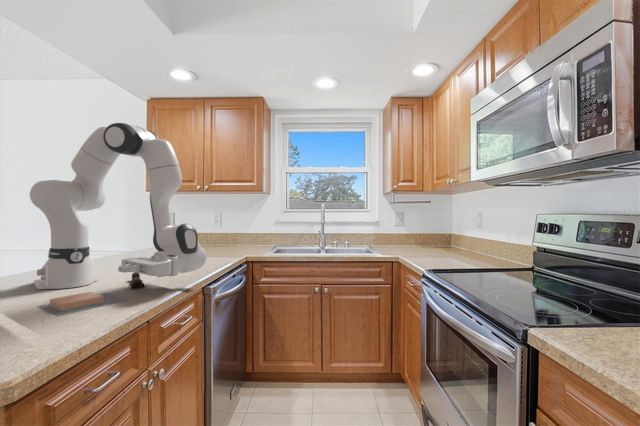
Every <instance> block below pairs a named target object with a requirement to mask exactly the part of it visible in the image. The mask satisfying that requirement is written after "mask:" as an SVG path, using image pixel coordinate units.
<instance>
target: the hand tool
mask: <svg viewBox="0 0 640 426" xmlns="http://www.w3.org/2000/svg"><path fill="white" fill-rule="evenodd" d="M140 275H141V274H140V273H136V272H132V274H131V287H130V290H138V289H144V288H145V283H144V281H143V280H141V278H140Z"/></svg>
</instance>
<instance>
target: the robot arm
mask: <svg viewBox="0 0 640 426" xmlns="http://www.w3.org/2000/svg"><path fill="white" fill-rule="evenodd" d="M120 155H124V156H129V157H140V158H141V159H142V160H143V162H144V165H145V168H146V169H145V170H146V172H147V177H148V181H149V204H150V210H151V215H152V216H151V217H152V223H153V235H152V236H153V237H152V243H153V246H154V248H155V249H156V251H155V253H154V254H153V255H152V256H151V257H130V258H124V259H121V265H119V266H118V269H117V271H118V272H120V273H134V272H136V273H139V274H140V275H141V274H142V275H146V276H151V277H156V278H157V277H158V278H163V277H176V276H178V274H185V273H190V272H194V271H198V270H199V269H201V268H202V267H204V265H205V264H206V261H207V253H206V251H205V249H204V248H203V247H202V246H201V244H200V241H199V236H198V235H199V234H198V231H197V229H196V228H195V227H194V226H193V225H191V224H189V223H181V224H177V225H174V226H173V224H172V219H171V213H170V201H171V199H172V198H173V196H174V195H175V193H177V191H179V189H180V187H181V186H182V182H183V176H182V171H181V170H182V169H181V167H180V163H179V160H178V158H177V154H176V152H175V149H174V148H173V146H172V144H171V142H169V141H168V140H166V139H164V138H159V136H158V135H157V134H155V132H153V131H151V130H149V129H145V128H143V127H140V126H138V125H132V124H128V123H124V122H115V123H111V124H109V125H107V126H100V127H98V128H96V130H94V131H93V132H92V133H91V134H90V135H89V136H88V137H87V139H86V140H85V141H84V143H83V144H82V145H81V147H80V149H79V150H78V151H77V153H76V155H74V157H73V159H72V161H71V163H70V166H71V169H72V170H73V172H74V173H75V177H74V179H73V180H71V181H68V180H66V181H65V180H61V179H60V180H57V179H50V180H49V179H48V180H47V179H46V180H39V181H37V182H35V183H33V185H32V186H31V188H30V191H29V198H30V201H31V203H32V204H33V205H34V207H36V208H38V209H39V210H40V211H41V212H42V213H43V214H44V216H45V217H46V220H47V222H48V225H49V227H50V228H49V229H50V248H49V250H48V253H47V254H48V255H47V257H48V259H47V260H46V261H45V263H44V264H43V266H42V267H41V268H38V269H37V270H36V275H37V276H38V277H39V276H40V279H34V280H33V281H32V283H33V285H34V286H35V288H36V289H37V290H53V289H54V290H57V289H58V290H61V289H70V288H72V289H73V288H77V287H78V288H79V287H83V286H88V285H91V284H93V283H95V282H98V281H99V278H98V277H96V276H95V267H94V261H93V259H91V258H90V257H89V256H90V255H91V254H90V252H91V251H90V246H89V227H88V225H87V223H85V222H83V221H82V220H81V219H80V217H79V216H78V211H84V212H86V211H87V212H88V211H92V210H97V209H100V208H101V207H103V205H104V204H105V202H106V193H105V191H104V189H103V183H104V180H105V178H106V176H107V175H108V173H109V171H110V170H111V168H112V167H113V166H114V164H115V163H116V160H117V159H118V157H119V156H120Z"/></svg>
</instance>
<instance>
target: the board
mask: <svg viewBox="0 0 640 426" xmlns="http://www.w3.org/2000/svg"><path fill="white" fill-rule="evenodd" d="M99 295H102V296H103V303H102V304H97V305H92V306H87V307H83V308H78V309H73V310H68V311H64V312H60V311H58V310H56V309H54V308H51V307H50V303H47V304H42V305H38V306H37V308H40V309H42V310H44V311H45V312H48V313H50V314H52V315H54V316H56V317H60V316H65V315H69V314H74V313H78V312H82V311H86V310H87V311H88V310H93V309H97V308H101V307H106V306H110V305H114V304H119V303H123V302H129V301H130V299H128V298H126V297H122V296H119V295H116V294H112V293H109V292H107V293H101V294H100V293H99Z"/></svg>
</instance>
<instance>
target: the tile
mask: <svg viewBox="0 0 640 426" xmlns="http://www.w3.org/2000/svg"><path fill="white" fill-rule="evenodd" d="M102 303H103V296H102V295H100V293H96V292H92V291H89V292H88V291H87V292H84V293H83V292H81V293H77V294H71V295H65V296H60V297H55V298H49V304H50V307H51V308H54V309H56V310H58V311H60V312H64V311H68V310H73V309H78V308H83V307H87V306H92V305H97V304H102Z"/></svg>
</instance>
